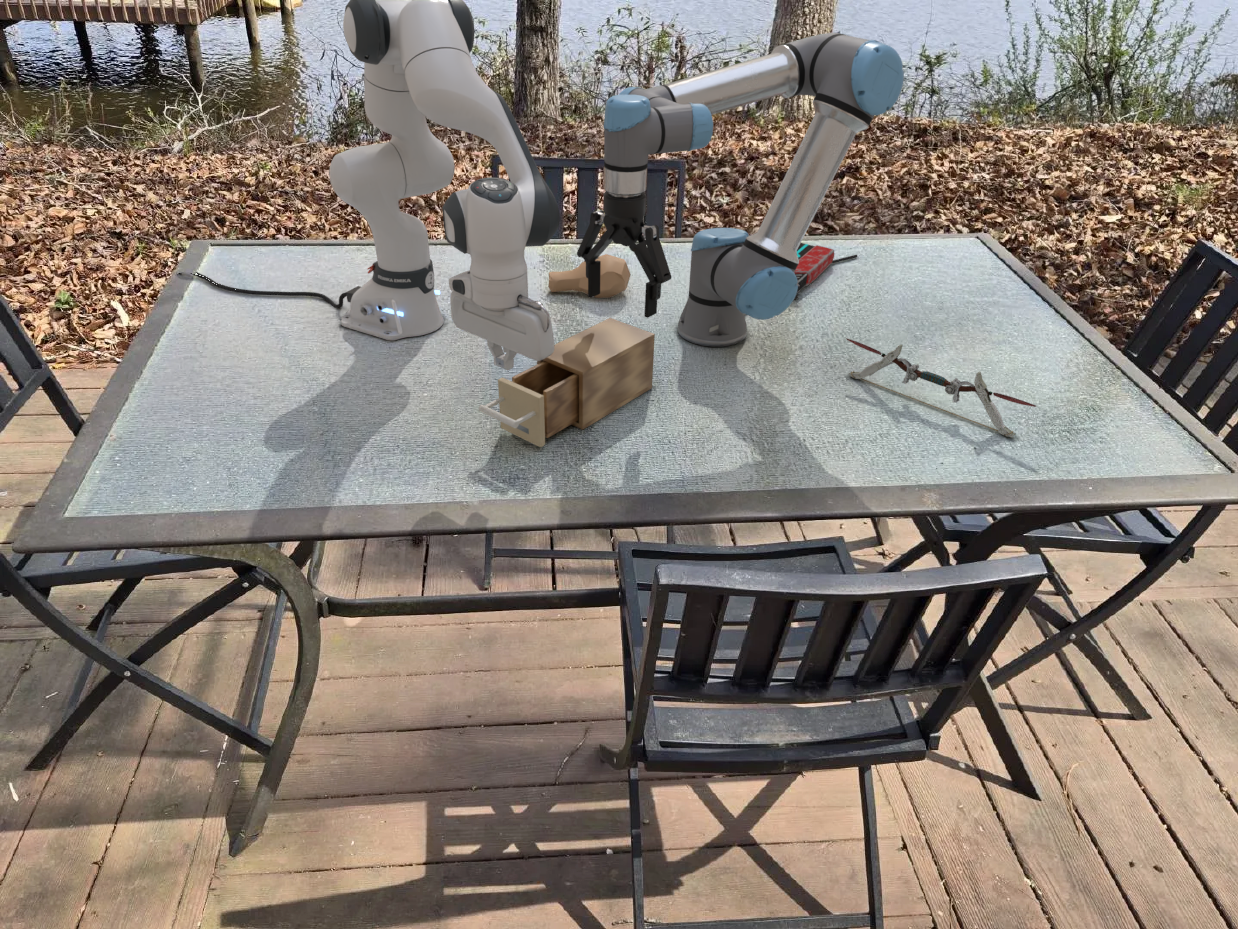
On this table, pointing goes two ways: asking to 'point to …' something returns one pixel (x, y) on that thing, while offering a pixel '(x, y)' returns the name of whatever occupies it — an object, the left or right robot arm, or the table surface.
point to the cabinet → (606, 366)
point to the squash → (611, 278)
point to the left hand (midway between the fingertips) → (504, 366)
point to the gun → (811, 263)
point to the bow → (950, 387)
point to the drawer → (537, 402)
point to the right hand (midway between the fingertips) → (621, 305)
